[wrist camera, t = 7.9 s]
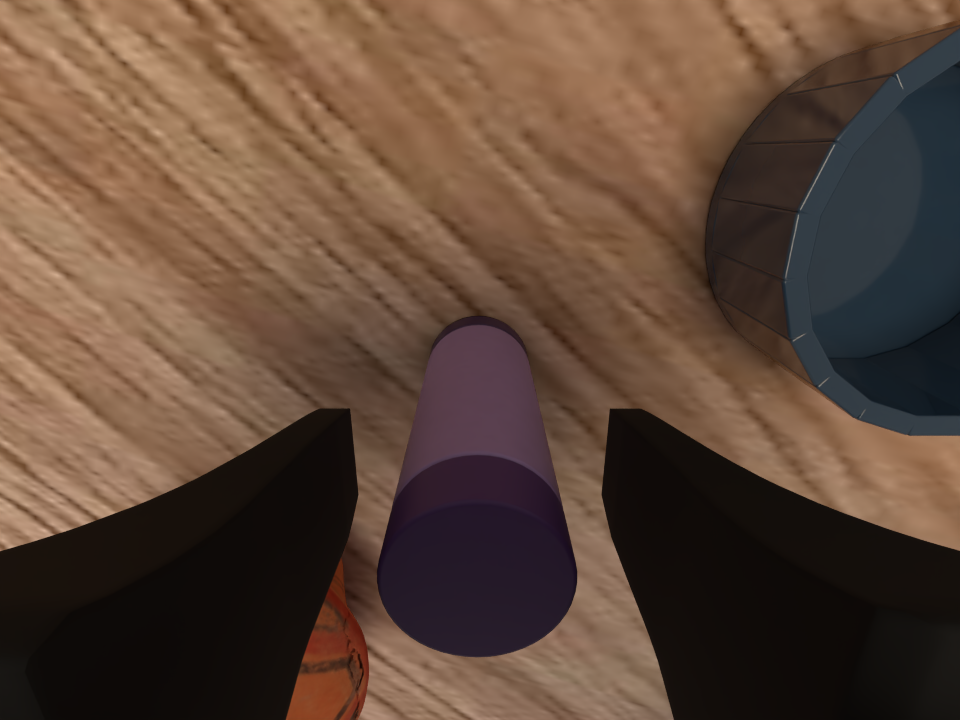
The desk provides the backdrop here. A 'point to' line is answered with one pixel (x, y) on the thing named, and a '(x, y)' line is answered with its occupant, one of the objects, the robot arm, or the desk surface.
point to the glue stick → (477, 504)
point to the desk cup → (853, 232)
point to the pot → (332, 663)
